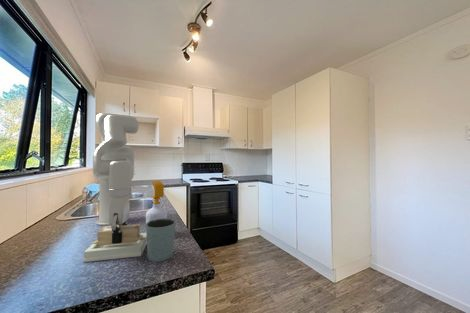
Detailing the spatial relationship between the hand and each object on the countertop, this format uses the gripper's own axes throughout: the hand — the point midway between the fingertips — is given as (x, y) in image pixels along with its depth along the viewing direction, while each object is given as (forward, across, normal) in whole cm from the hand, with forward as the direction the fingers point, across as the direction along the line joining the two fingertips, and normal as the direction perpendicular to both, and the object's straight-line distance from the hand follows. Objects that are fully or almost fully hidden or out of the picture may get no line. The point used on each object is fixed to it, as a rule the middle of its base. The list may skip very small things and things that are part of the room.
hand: (120, 239), depth 76 cm
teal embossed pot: (+4, +9, +16) cm, 19 cm away
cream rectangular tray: (+4, 0, 0) cm, 4 cm away
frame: (+1, 0, 0) cm, 1 cm away
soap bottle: (+4, -13, +11) cm, 18 cm away
